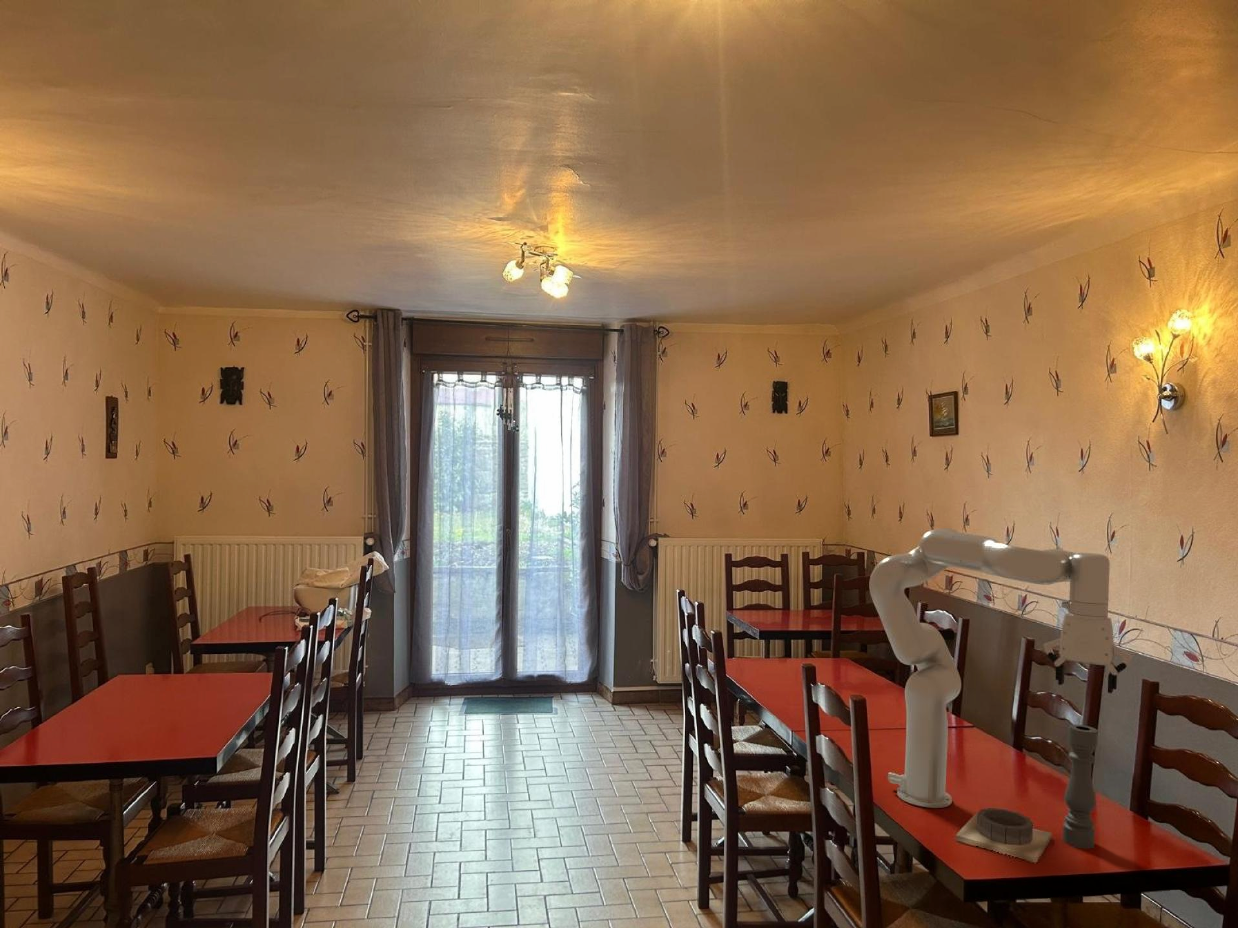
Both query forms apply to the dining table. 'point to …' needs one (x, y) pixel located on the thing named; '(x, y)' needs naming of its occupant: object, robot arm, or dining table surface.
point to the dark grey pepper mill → (1080, 788)
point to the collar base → (1005, 834)
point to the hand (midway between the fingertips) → (1085, 687)
